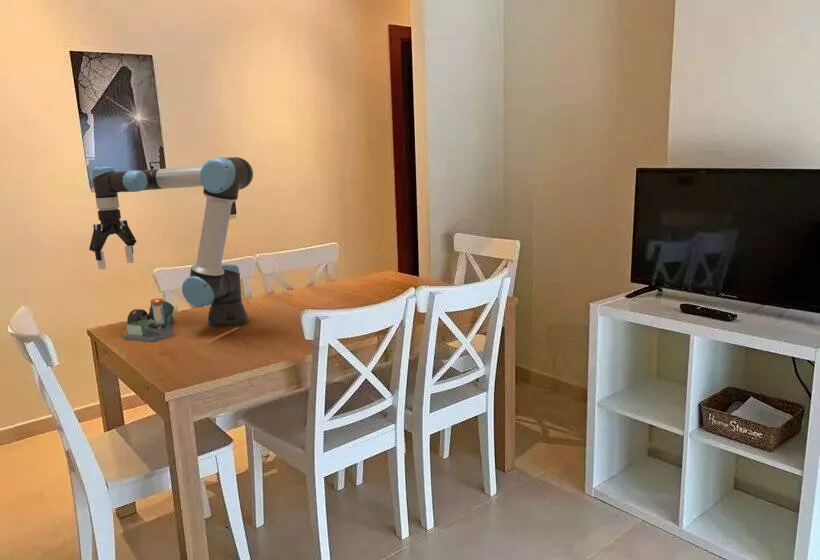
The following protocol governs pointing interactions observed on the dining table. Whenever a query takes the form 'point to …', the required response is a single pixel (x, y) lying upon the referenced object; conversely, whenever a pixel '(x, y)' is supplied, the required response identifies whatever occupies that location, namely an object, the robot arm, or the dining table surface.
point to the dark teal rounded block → (167, 313)
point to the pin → (158, 313)
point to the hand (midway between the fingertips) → (116, 265)
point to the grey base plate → (147, 331)
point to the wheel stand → (137, 316)
